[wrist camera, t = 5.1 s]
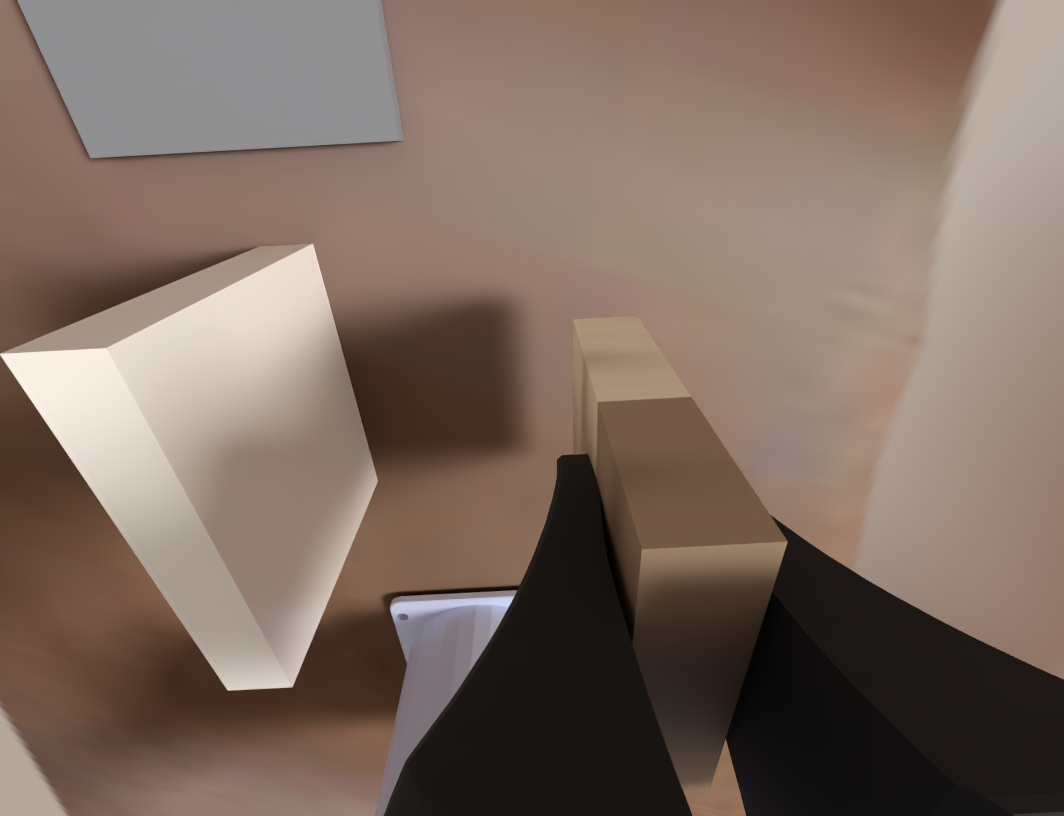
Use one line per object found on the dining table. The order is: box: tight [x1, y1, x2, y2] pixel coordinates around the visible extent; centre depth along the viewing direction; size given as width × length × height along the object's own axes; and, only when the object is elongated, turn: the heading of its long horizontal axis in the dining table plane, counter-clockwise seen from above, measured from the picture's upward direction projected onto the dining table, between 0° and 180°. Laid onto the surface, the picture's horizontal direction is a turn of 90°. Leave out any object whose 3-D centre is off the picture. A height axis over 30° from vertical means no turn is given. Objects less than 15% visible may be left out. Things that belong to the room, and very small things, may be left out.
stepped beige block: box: [573, 316, 788, 790], centre depth 10 cm, size 6×2×8 cm, turn 3°
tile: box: [0, 244, 378, 691], centre depth 13 cm, size 9×2×8 cm, turn 3°
